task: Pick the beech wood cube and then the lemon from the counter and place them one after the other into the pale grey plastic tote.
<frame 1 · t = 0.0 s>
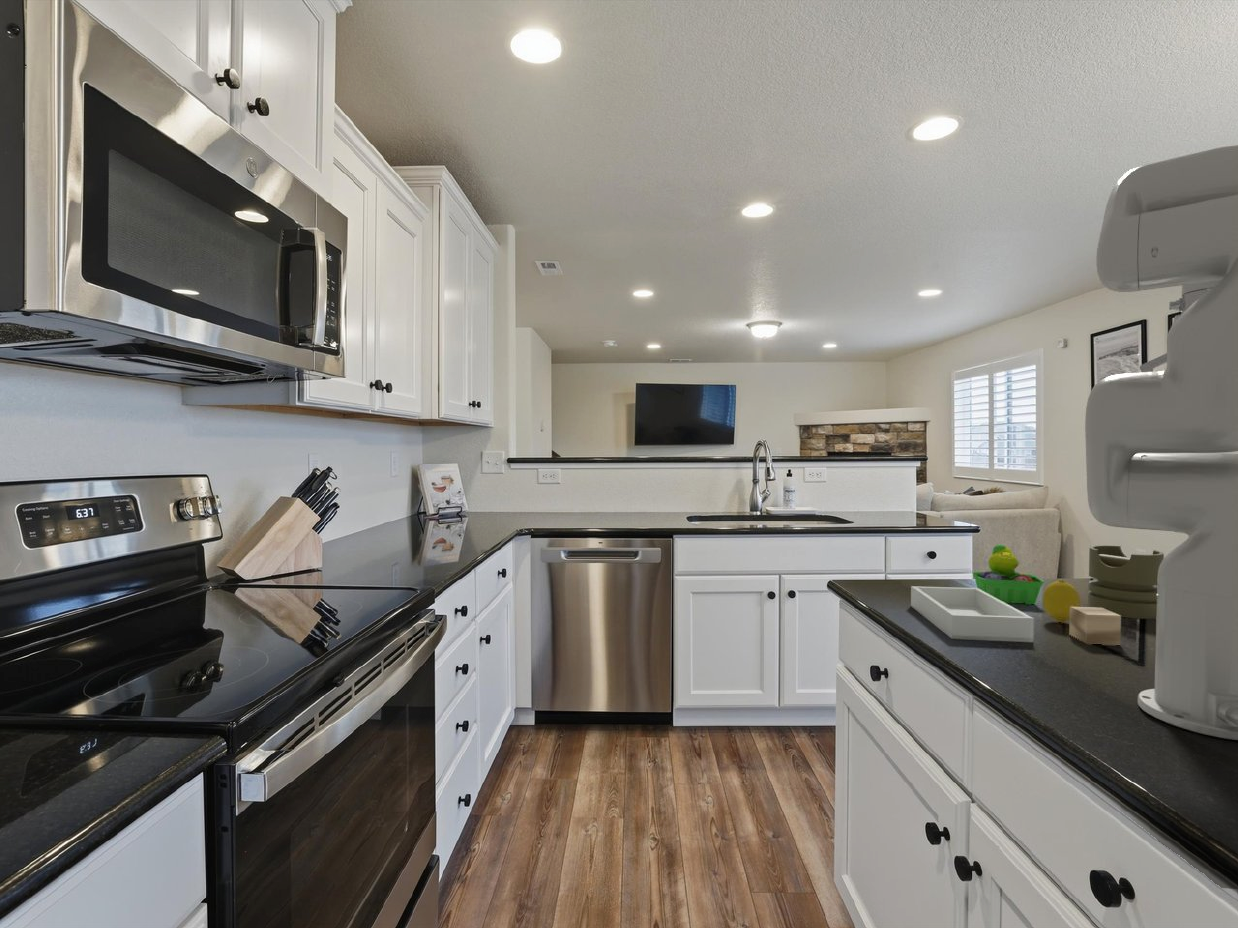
hand: (1210, 414, 98), 37 cm above the countertop, tool pointing down, fingers open, 9 cm apart
lemon: (1060, 624, 115), on the countertop
fruit basket: (1005, 600, 132), on the countertop
cube: (1094, 640, 105), on the countertop
tote: (965, 622, 115), on the countertop
piston: (1123, 611, 123), on the countertop
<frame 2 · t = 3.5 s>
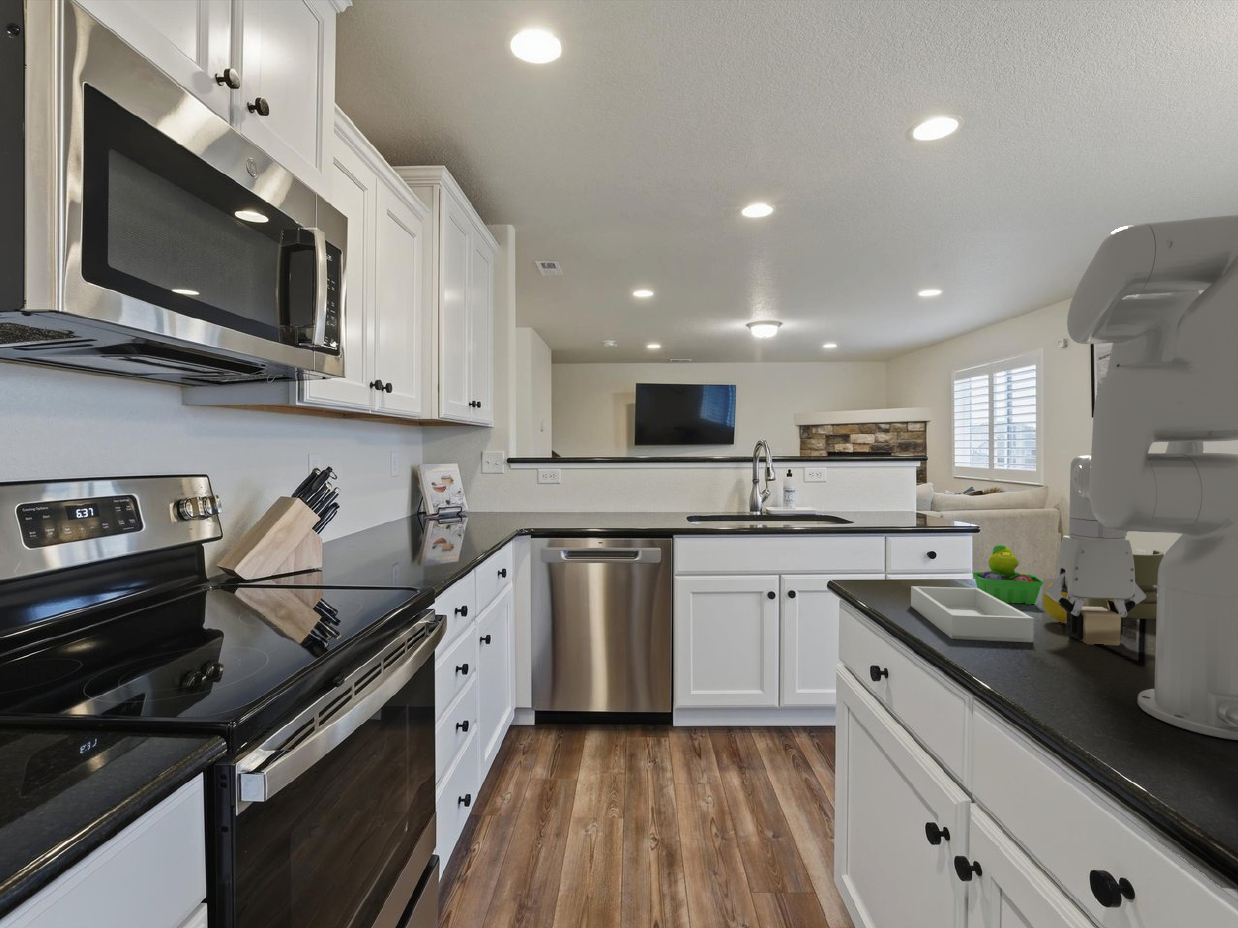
hand: (1093, 636, 105), 0 cm above the countertop, tool pointing down, fingers closed on cube, 5 cm apart
cube: (1093, 640, 105), on the countertop, touching gripper
everything else where it was.
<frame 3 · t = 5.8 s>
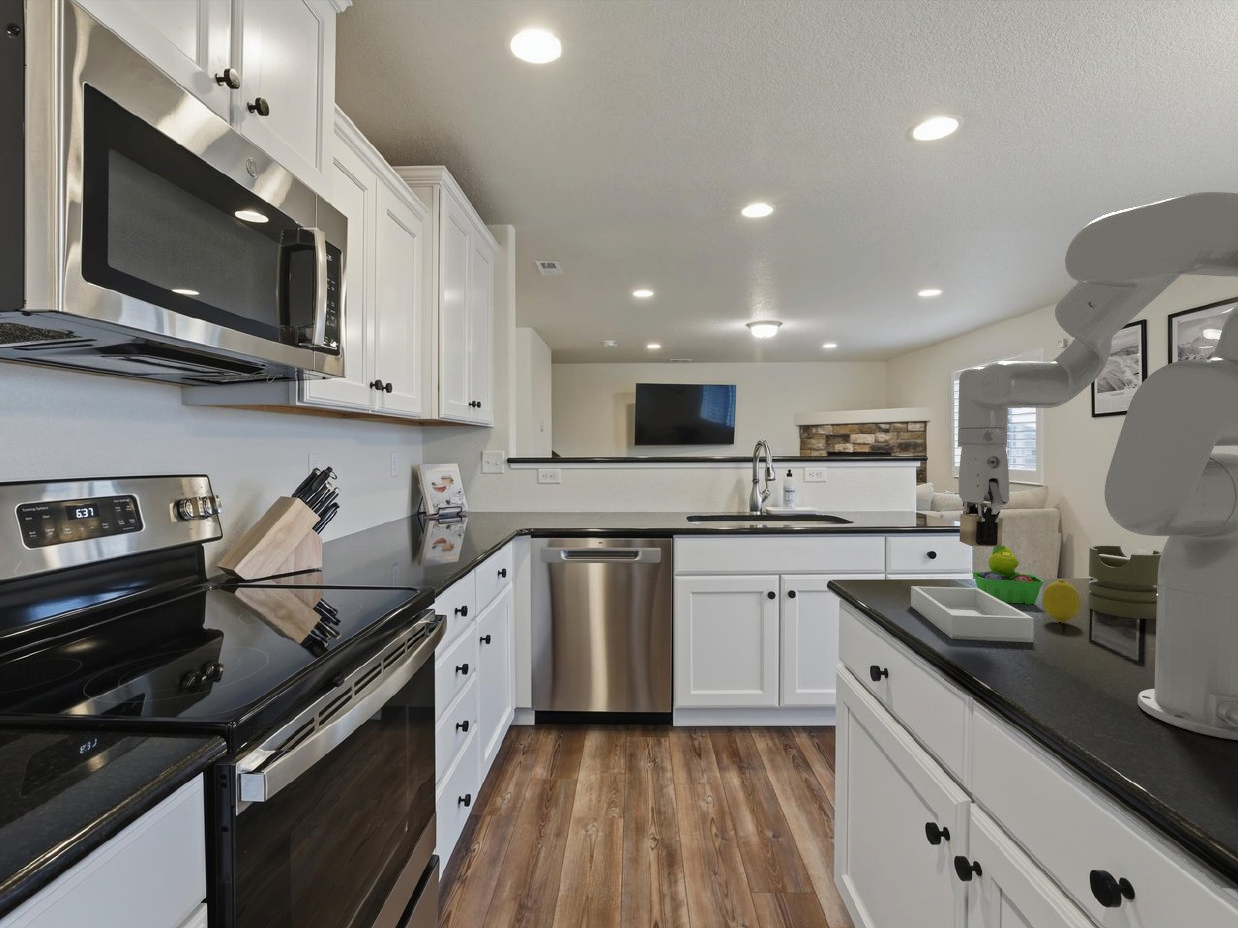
hand: (979, 541, 111), 16 cm above the countertop, tool pointing down, fingers closed on cube, 5 cm apart
cube: (980, 544, 111), point 15 cm above the countertop, touching gripper
everything else where it was.
when the fingers open (4 cm above the countertop, at t = 8.1 s): cube drops 3 cm, resting on tote.
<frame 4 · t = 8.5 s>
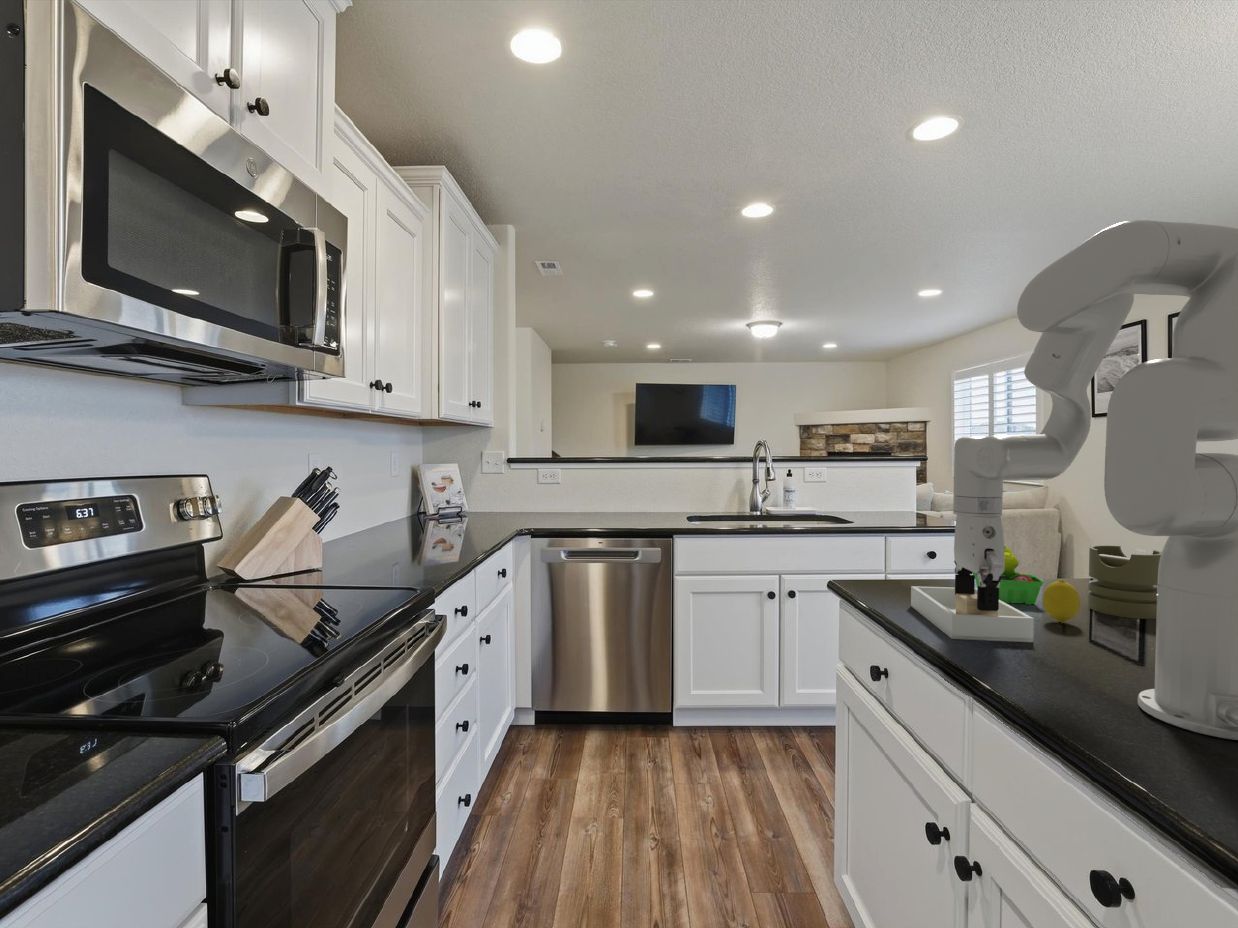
hand: (975, 602, 111), 5 cm above the countertop, tool pointing down, fingers open, 9 cm apart
cube: (975, 625, 111), point 1 cm above the countertop, touching tote
everything else where it was.
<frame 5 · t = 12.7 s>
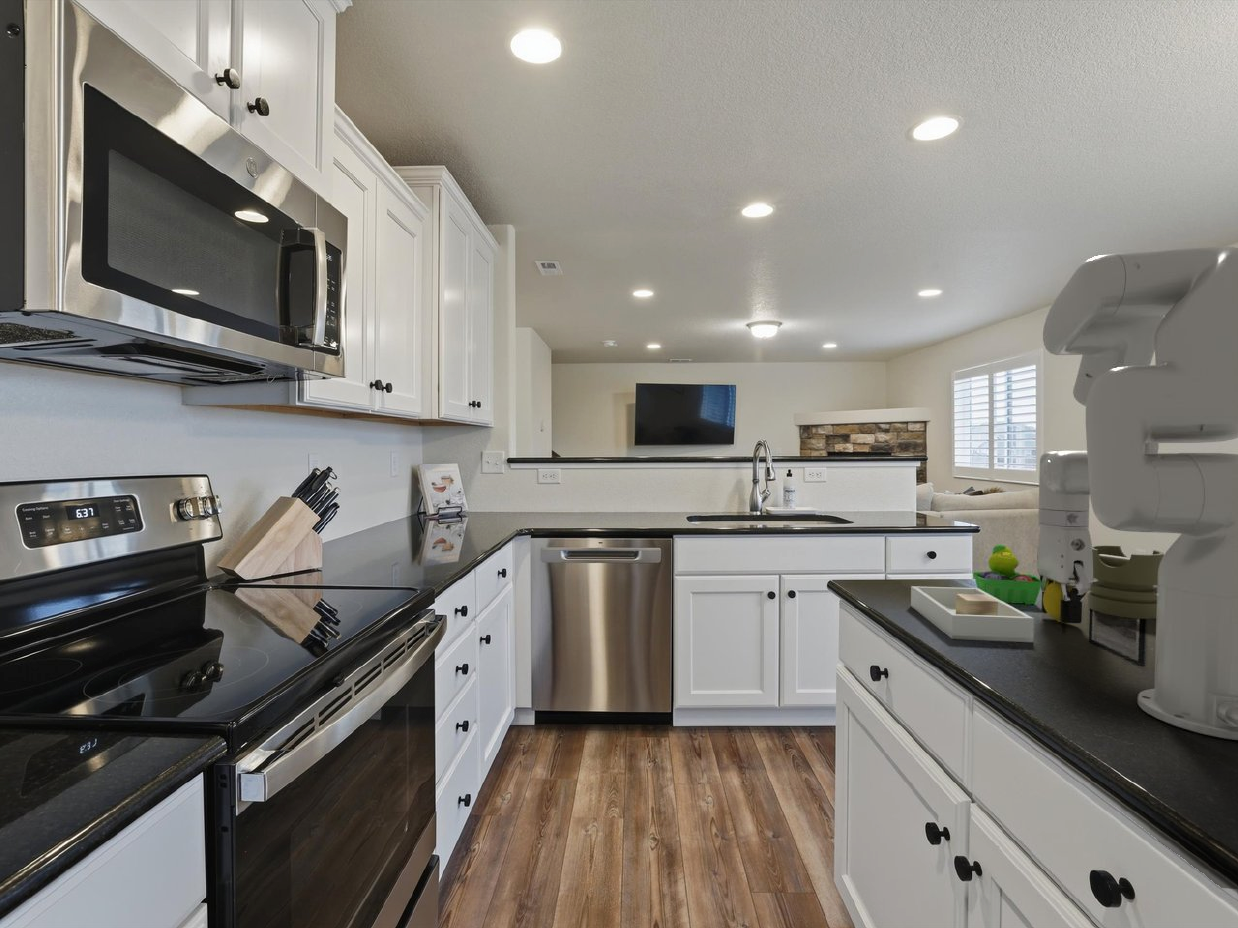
hand: (1060, 616, 115), 1 cm above the countertop, tool pointing down, fingers closed on lemon, 5 cm apart
lemon: (1060, 623, 115), on the countertop, touching gripper
everything else where it was.
when the fingers open (4 cm above the countertop, at t = 17.0 s): lemon drops 2 cm, resting on tote.
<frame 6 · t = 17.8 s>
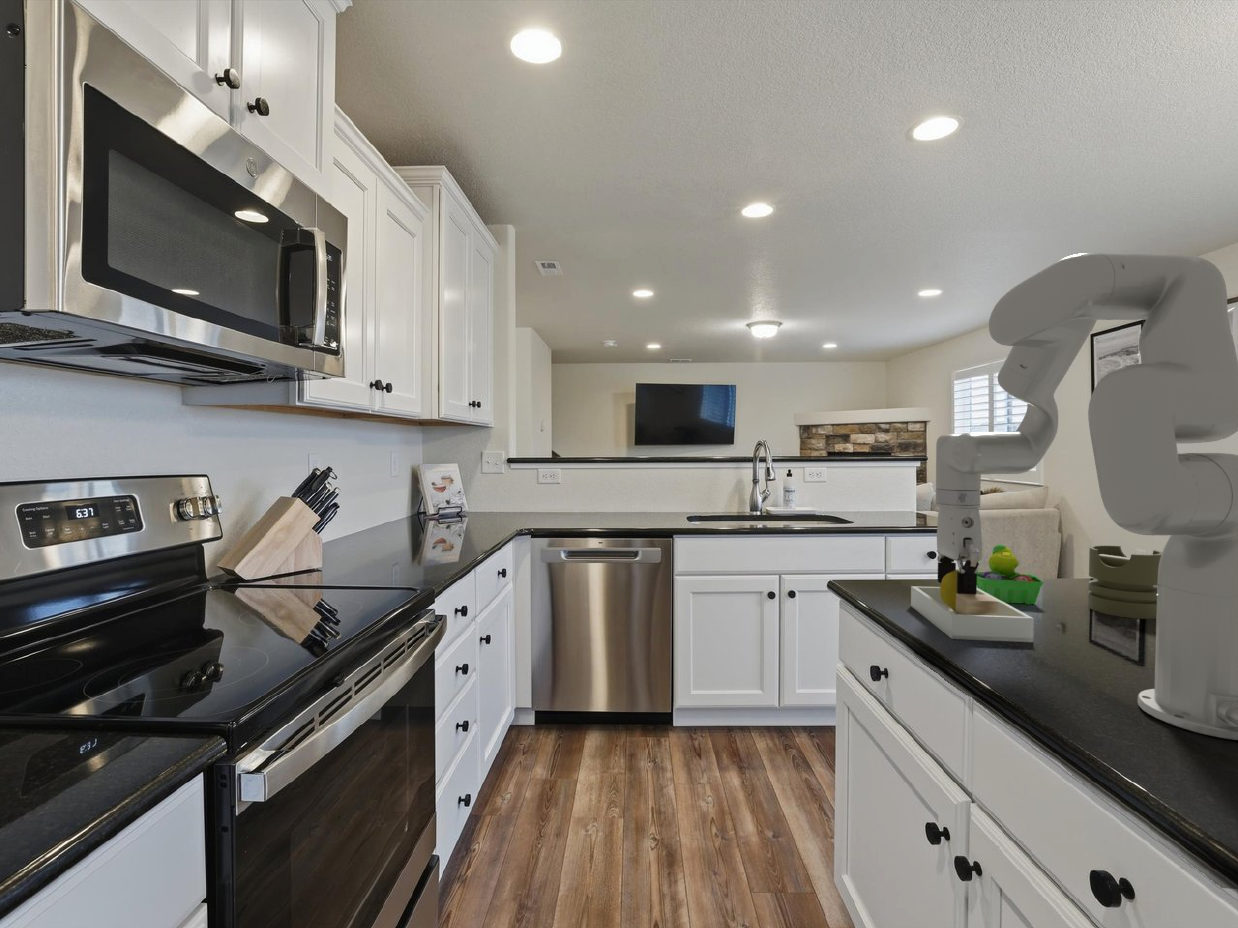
hand: (956, 588, 120), 5 cm above the countertop, tool pointing down, fingers open, 9 cm apart
lemon: (955, 612, 120), resting on tote
everything else where it was.
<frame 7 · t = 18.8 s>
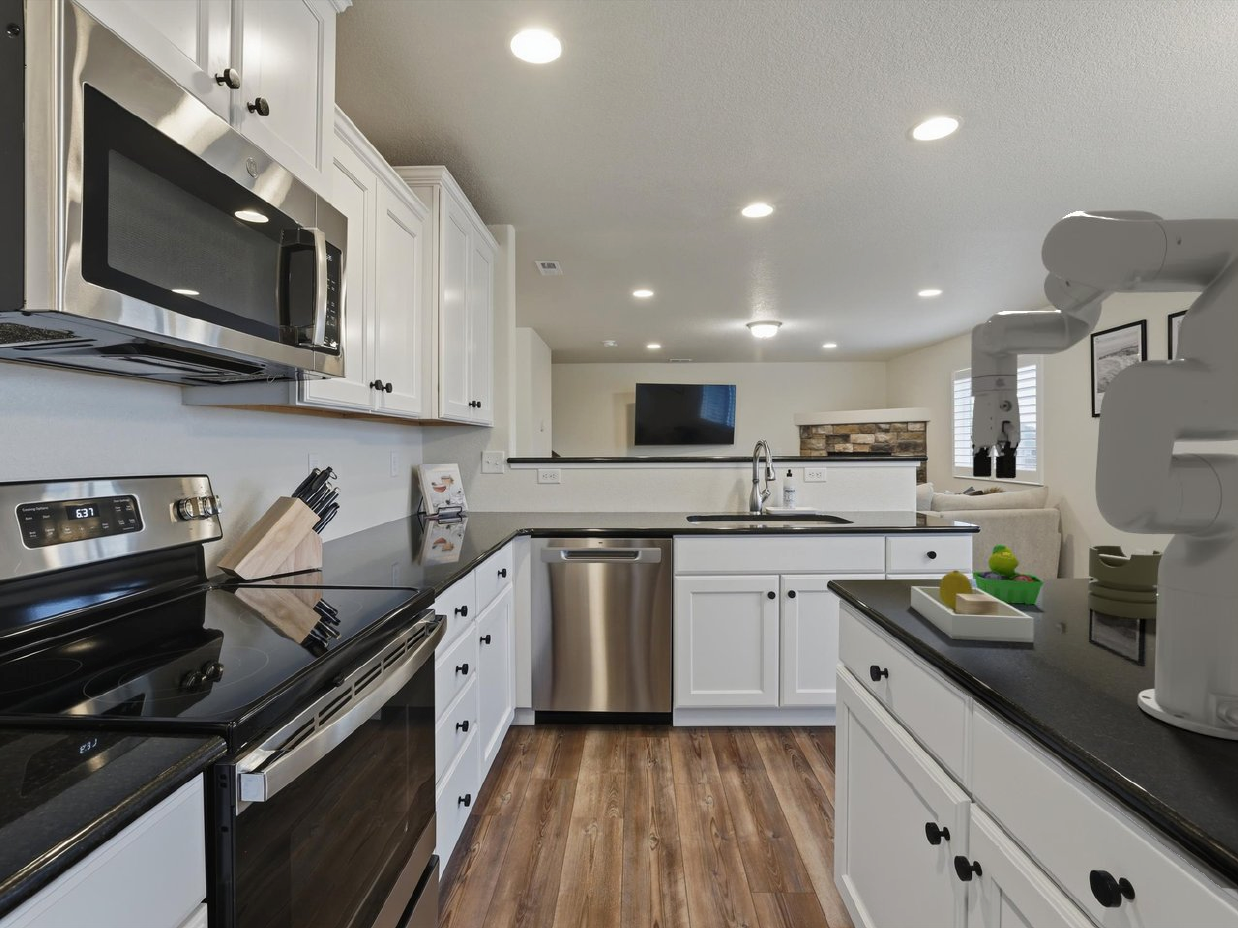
hand: (993, 477, 119), 26 cm above the countertop, tool pointing down, fingers open, 9 cm apart
nothing on the countertop moved.
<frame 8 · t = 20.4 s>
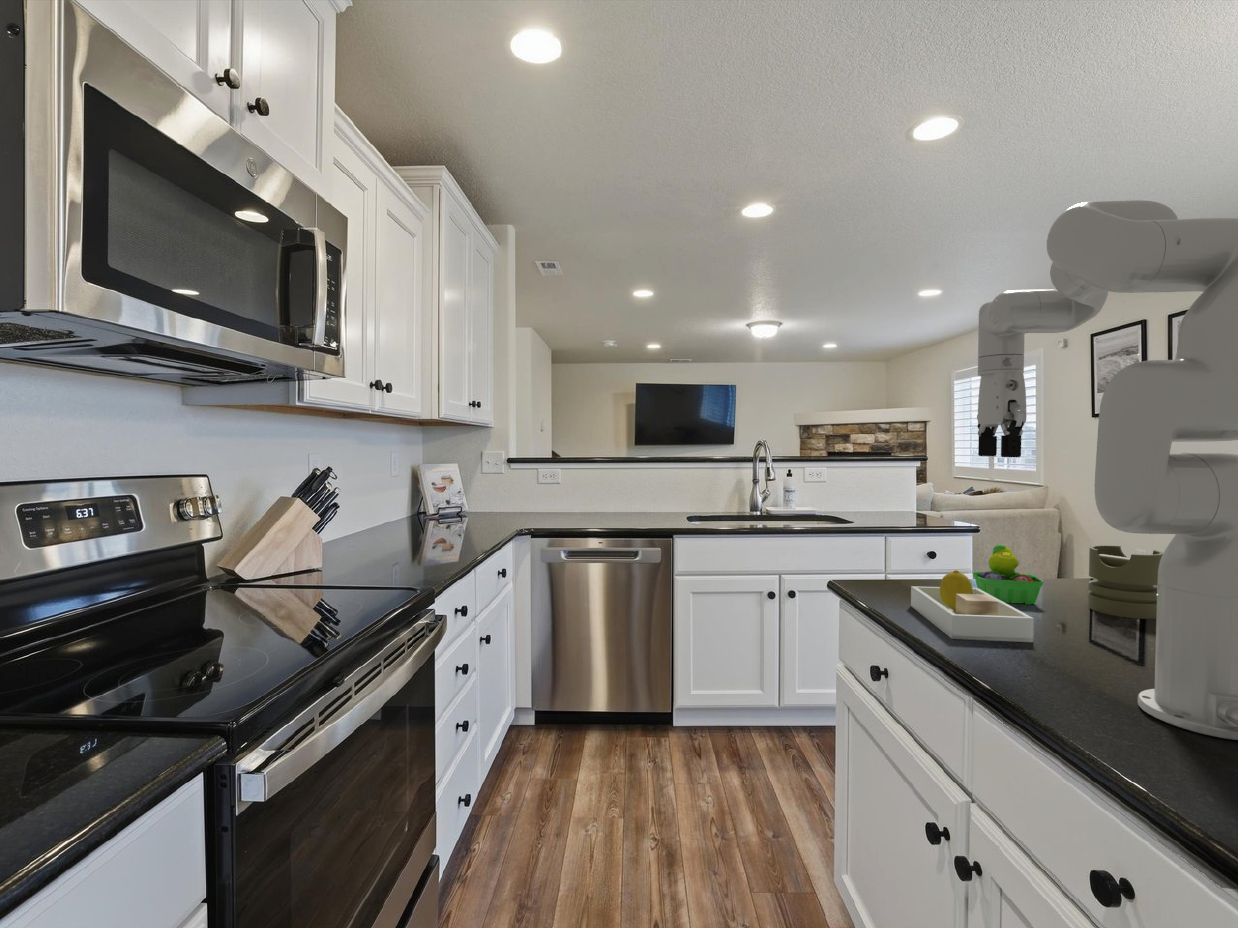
hand: (998, 456, 120), 30 cm above the countertop, tool pointing down, fingers open, 9 cm apart
nothing on the countertop moved.
at the end: cube inside the target area on the tote (4.1 cm from its centre), point 0.6 cm above the tote's base; lemon inside the target area on the tote (5.0 cm from its centre), point 0.4 cm above the tote's base; the gripper is holding nothing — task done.
